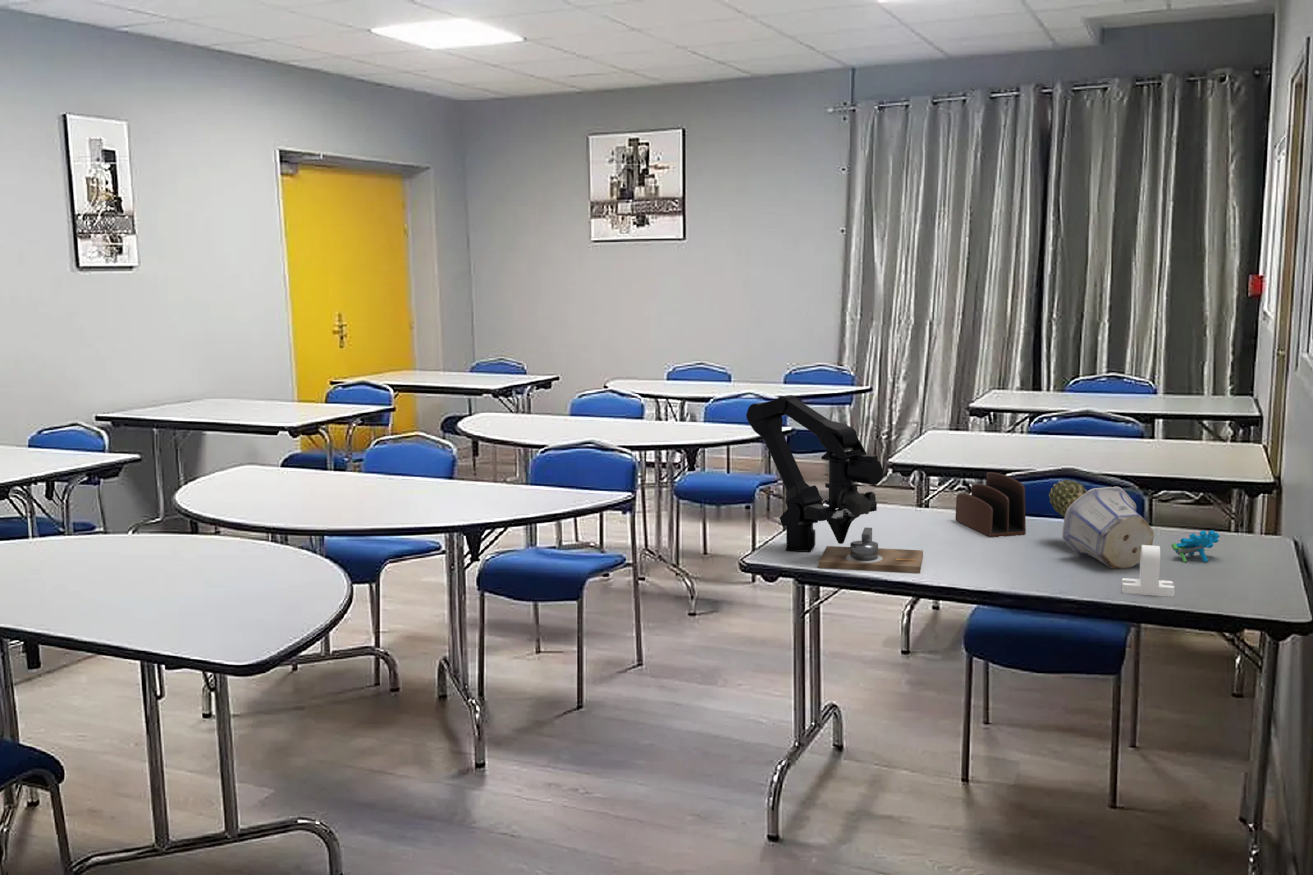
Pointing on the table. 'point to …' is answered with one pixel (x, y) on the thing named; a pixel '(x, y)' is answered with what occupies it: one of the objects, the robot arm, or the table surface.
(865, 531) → the grey rotary lever handle
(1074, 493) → the potted plant
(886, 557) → the base plate
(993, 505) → the letter holder
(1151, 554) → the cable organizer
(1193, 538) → the blue spiky toy dinosaur
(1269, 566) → the table surface
